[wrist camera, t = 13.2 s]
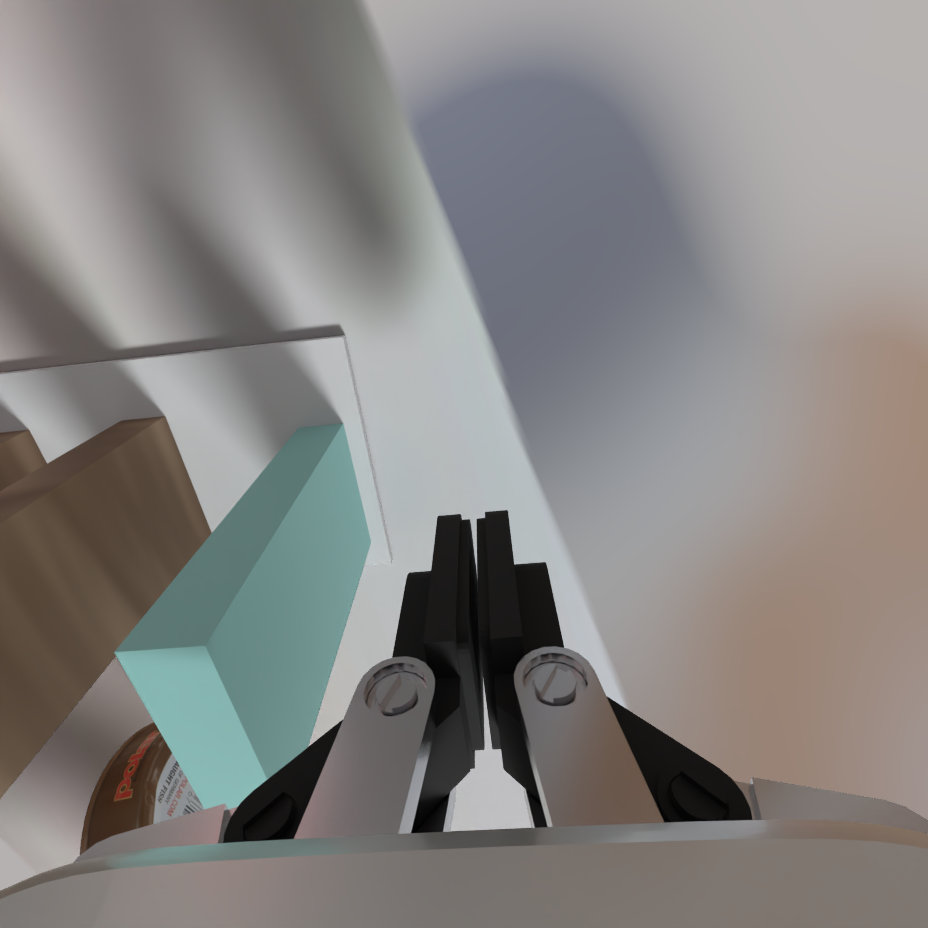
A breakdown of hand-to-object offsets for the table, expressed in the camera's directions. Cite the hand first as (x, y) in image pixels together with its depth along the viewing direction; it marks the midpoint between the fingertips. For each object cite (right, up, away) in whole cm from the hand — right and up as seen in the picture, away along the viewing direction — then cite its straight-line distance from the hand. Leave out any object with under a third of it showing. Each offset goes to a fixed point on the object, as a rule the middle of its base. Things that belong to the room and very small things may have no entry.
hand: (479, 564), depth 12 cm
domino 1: (-11, +2, +6) cm, 13 cm away
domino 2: (-5, +2, +6) cm, 8 cm away
